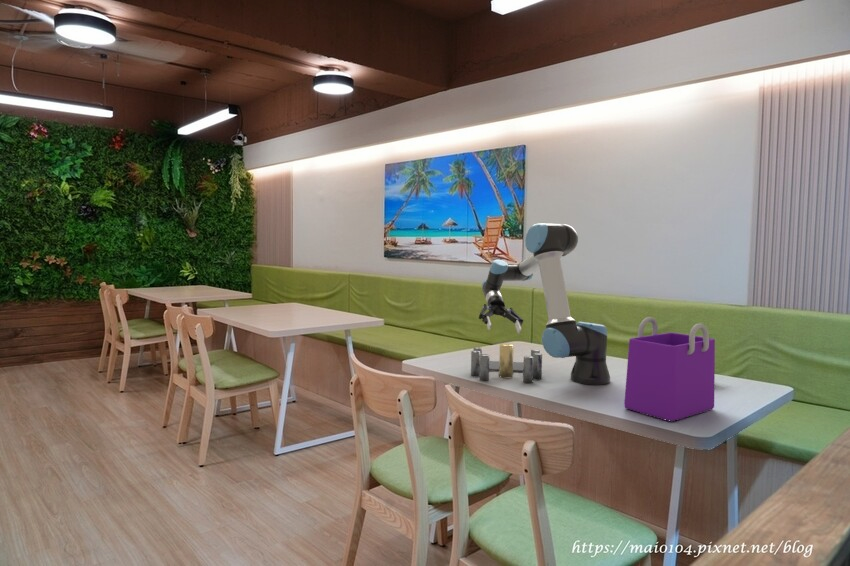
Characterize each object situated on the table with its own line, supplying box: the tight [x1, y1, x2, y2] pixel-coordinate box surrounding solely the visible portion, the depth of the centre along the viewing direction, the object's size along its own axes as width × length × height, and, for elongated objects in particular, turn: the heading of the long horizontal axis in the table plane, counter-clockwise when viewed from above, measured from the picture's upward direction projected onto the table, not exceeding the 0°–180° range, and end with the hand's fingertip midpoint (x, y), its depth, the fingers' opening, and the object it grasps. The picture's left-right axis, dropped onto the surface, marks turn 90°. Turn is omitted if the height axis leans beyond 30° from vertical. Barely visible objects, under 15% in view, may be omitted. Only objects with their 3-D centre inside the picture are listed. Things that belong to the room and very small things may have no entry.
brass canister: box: [498, 343, 514, 378], centre depth 223 cm, size 6×6×13 cm
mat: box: [489, 360, 524, 373], centre depth 239 cm, size 16×16×1 cm
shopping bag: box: [623, 316, 716, 422], centre depth 179 cm, size 28×22×30 cm
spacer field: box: [470, 346, 543, 384], centre depth 222 cm, size 29×18×10 cm, turn 82°
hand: (504, 329), depth 232 cm, fingers open, 13 cm apart
